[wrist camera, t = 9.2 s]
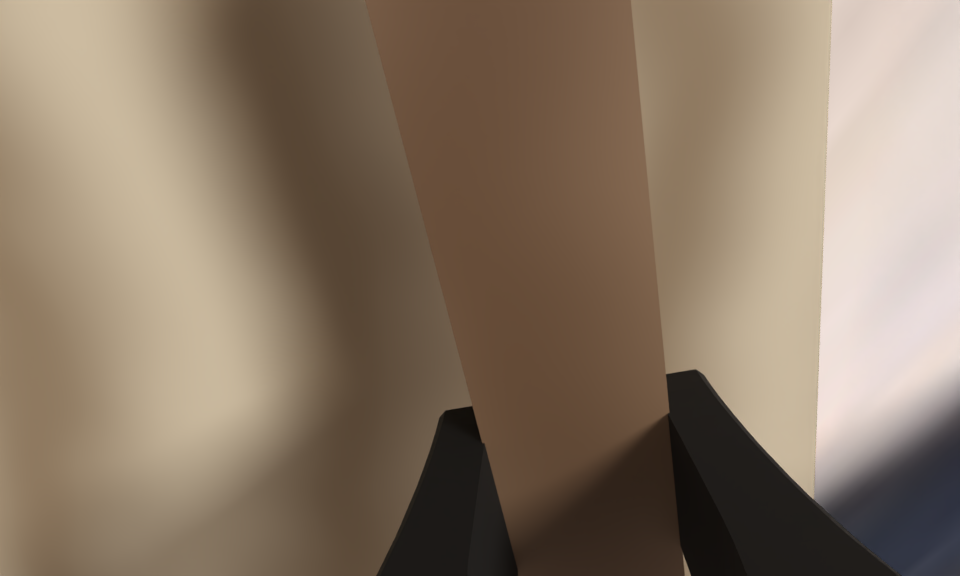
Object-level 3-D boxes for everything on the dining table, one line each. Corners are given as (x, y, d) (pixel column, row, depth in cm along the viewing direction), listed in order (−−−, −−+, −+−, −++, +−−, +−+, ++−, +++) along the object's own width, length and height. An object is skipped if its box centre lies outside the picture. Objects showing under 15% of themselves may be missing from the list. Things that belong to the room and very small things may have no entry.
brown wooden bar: (558, -304, 9) (601, -316, 6) (671, 657, 19) (706, 809, 16) (343, -253, 9) (300, -245, 7) (565, 672, 19) (583, 825, 17)
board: (819, -471, 11) (850, -487, 10) (792, 777, 28) (802, 808, 28) (-552, -134, 13) (-622, -124, 12) (221, 846, 30) (215, 877, 29)
